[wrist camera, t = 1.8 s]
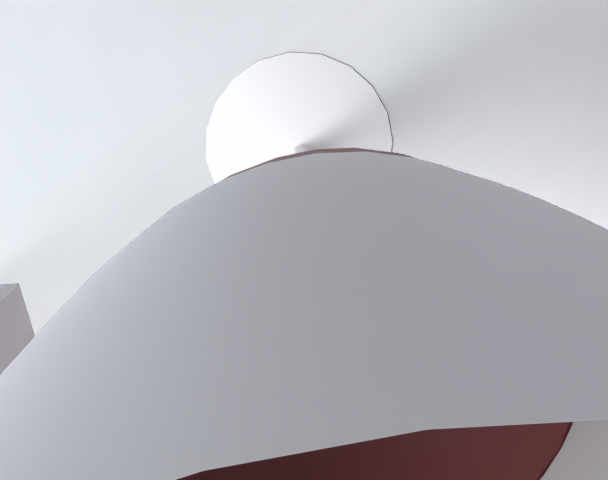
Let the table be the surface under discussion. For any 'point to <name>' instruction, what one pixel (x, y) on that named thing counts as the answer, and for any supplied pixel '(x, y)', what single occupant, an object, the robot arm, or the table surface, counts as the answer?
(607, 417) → the wineglass
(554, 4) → the table surface
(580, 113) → the table surface
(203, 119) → the table surface
